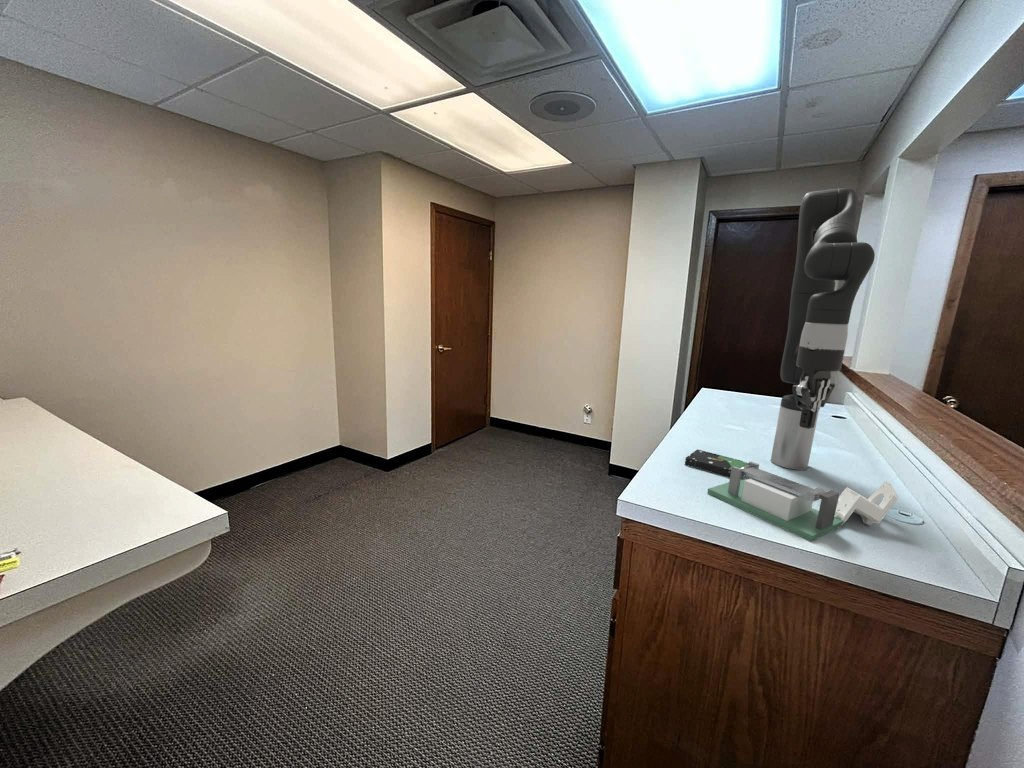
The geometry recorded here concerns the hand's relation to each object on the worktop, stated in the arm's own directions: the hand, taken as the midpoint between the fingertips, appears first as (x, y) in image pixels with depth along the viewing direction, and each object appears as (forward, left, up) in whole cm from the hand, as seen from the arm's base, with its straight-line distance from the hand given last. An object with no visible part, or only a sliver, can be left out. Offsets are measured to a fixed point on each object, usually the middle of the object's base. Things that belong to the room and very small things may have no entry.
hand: (806, 427), depth 87 cm
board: (0, -4, -21) cm, 21 cm away
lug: (0, +6, -20) cm, 21 cm away
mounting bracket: (-14, +8, -21) cm, 26 cm away
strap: (0, -3, -14) cm, 15 cm away
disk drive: (-11, -25, -21) cm, 35 cm away
